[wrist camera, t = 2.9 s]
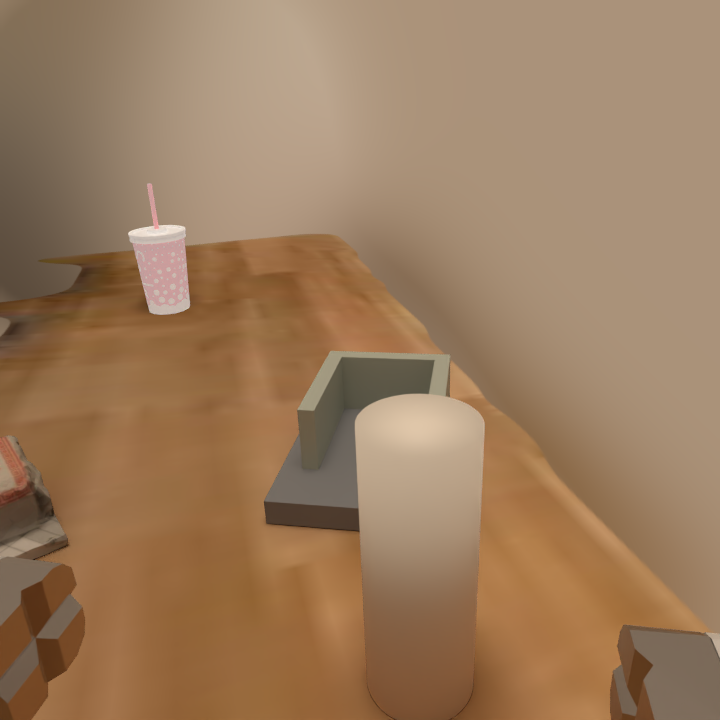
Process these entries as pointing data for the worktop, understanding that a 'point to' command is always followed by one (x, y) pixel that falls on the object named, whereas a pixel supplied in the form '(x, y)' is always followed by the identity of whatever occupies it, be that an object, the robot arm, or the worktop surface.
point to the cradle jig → (343, 433)
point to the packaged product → (25, 507)
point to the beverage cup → (162, 264)
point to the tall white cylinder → (419, 551)
